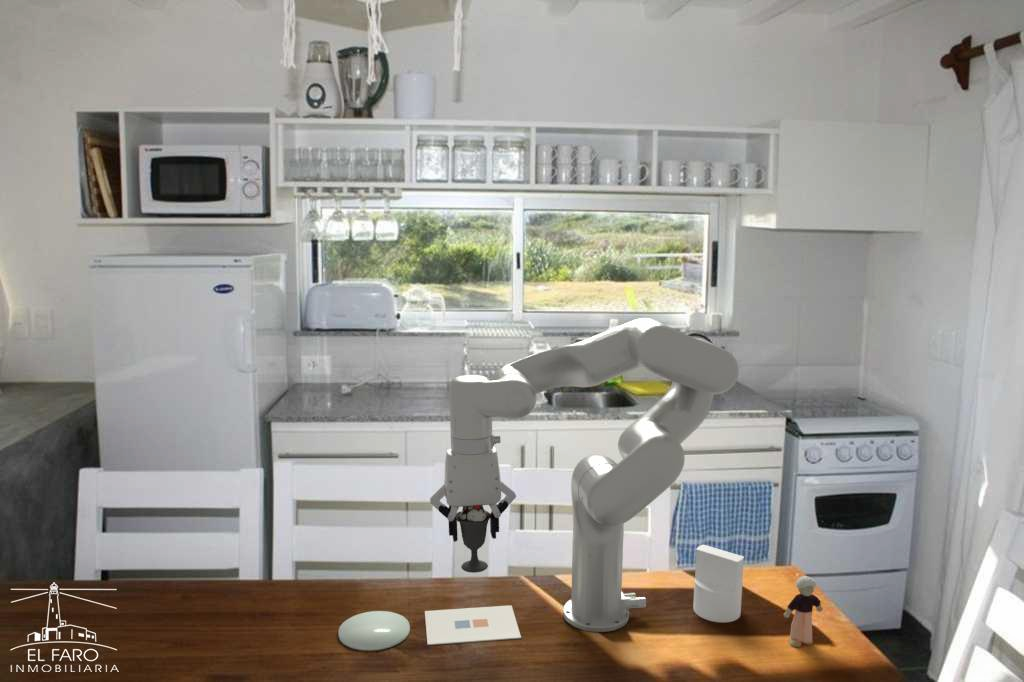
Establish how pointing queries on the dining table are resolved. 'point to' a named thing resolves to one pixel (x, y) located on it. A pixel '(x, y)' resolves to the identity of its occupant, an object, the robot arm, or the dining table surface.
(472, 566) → the sundae
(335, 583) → the dining table surface
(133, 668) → the dining table surface
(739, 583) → the cylinder with rectangular tab
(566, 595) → the dining table surface
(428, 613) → the tile
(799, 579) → the grandmother figurine
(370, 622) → the plate
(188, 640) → the dining table surface
